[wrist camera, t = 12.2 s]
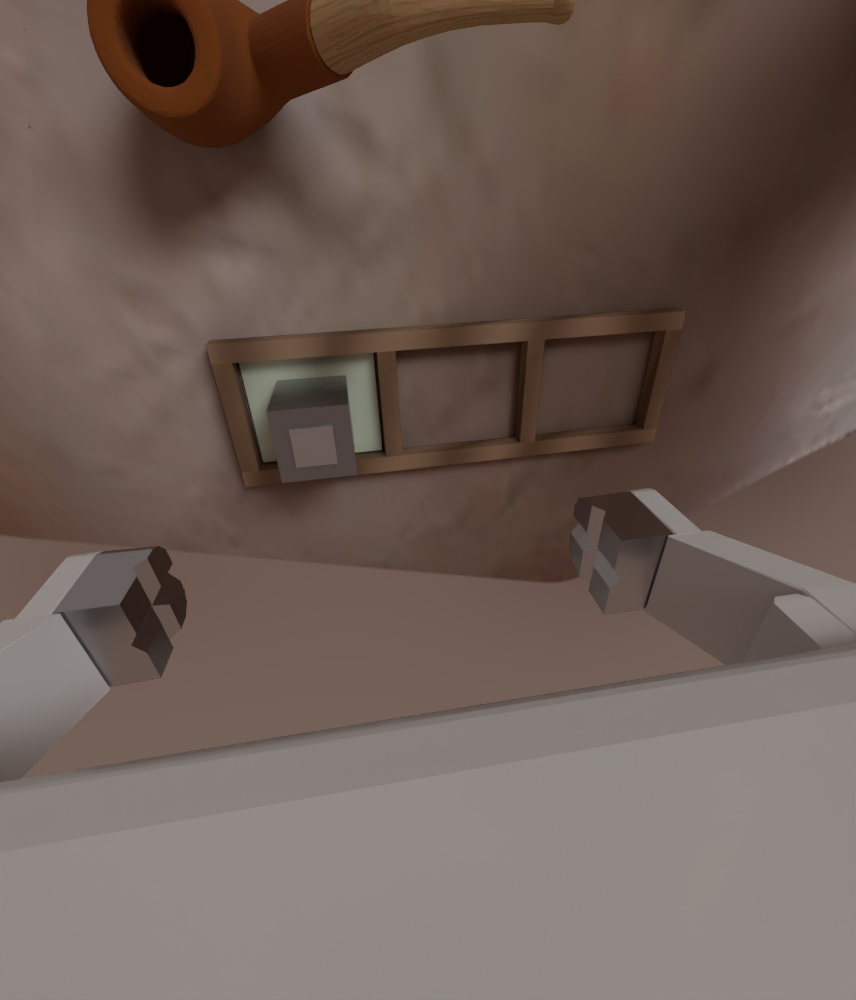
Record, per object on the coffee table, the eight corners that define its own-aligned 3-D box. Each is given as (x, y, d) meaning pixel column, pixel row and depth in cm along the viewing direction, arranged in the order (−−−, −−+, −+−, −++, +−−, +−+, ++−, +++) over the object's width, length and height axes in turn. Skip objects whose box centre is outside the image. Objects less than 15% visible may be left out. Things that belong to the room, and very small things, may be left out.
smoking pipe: (209, 168, 25) (155, 23, 22) (560, 59, 21) (550, -135, 18) (118, 152, 19) (26, -53, 16) (589, -6, 15) (581, -315, 12)
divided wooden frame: (675, 308, 32) (686, 310, 31) (645, 436, 38) (653, 442, 37) (210, 340, 28) (205, 344, 27) (248, 479, 33) (245, 487, 32)
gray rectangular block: (346, 374, 31) (348, 406, 25) (353, 436, 33) (357, 477, 28) (277, 380, 30) (265, 413, 25) (290, 442, 32) (281, 485, 27)
